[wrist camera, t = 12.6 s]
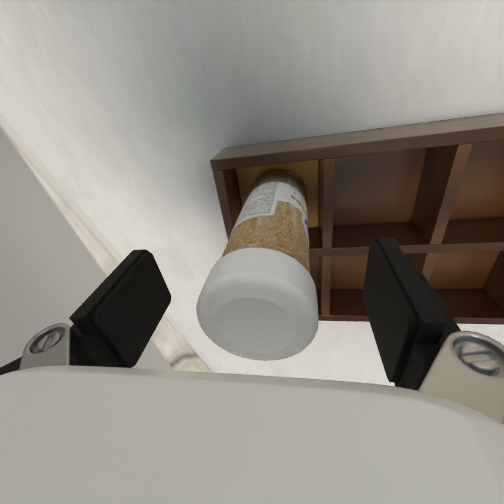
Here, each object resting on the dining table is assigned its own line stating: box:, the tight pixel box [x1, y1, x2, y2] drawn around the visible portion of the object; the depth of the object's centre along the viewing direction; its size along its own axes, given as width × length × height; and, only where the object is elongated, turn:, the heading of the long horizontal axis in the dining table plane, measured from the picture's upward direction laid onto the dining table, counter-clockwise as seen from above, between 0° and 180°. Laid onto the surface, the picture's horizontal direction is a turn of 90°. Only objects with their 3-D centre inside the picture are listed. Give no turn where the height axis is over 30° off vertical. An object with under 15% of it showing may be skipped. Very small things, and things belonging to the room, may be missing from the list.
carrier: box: [210, 113, 504, 324], centre depth 19 cm, size 15×22×4 cm
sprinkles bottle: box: [197, 169, 318, 361], centre depth 14 cm, size 5×5×13 cm
